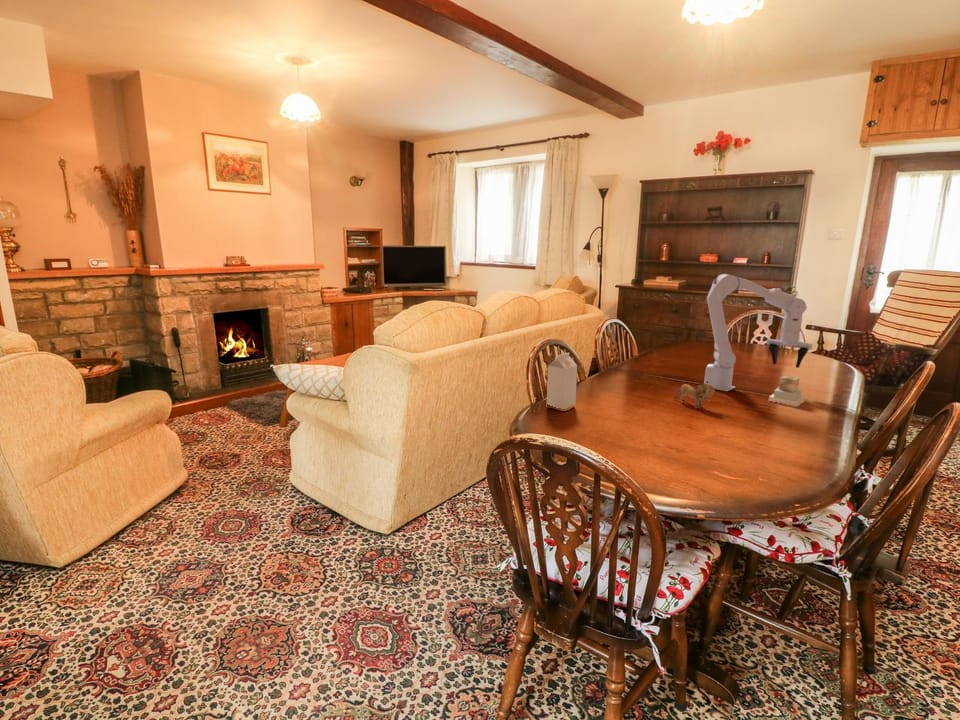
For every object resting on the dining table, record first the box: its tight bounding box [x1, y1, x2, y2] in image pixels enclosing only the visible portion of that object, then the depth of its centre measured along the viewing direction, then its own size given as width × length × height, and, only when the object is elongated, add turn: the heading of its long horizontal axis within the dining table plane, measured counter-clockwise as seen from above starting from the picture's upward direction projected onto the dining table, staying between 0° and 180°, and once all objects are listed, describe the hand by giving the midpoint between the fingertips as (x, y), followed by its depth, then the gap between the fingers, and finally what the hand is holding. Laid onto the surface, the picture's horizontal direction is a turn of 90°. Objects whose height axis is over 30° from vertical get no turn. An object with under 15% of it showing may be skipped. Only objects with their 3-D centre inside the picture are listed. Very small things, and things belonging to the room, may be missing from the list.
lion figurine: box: [673, 383, 716, 409], centre depth 172 cm, size 15×5×9 cm, turn 34°
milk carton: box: [546, 352, 578, 409], centre depth 167 cm, size 7×7×19 cm
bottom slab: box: [768, 393, 806, 408], centre depth 178 cm, size 9×9×2 cm
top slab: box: [773, 386, 802, 401], centre depth 177 cm, size 7×7×2 cm
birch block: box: [778, 375, 800, 392], centre depth 176 cm, size 4×4×4 cm
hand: (785, 365), depth 187 cm, fingers open, 7 cm apart
